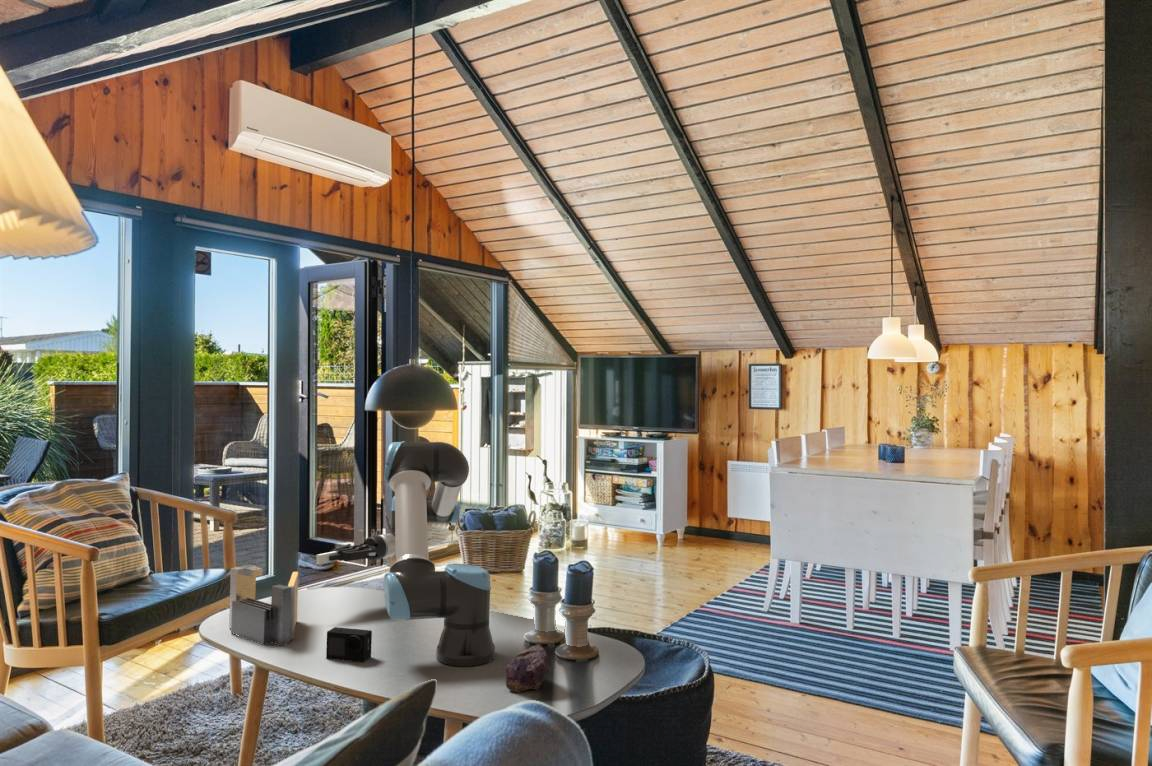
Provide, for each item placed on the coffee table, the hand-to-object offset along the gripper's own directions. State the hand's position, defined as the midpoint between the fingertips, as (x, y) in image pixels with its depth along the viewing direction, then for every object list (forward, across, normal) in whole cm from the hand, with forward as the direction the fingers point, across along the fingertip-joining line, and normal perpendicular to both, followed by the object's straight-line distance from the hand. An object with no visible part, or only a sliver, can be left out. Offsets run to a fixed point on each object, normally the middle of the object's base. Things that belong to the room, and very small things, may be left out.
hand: (318, 559), depth 234 cm
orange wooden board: (+12, -4, -17) cm, 21 cm away
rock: (+3, -83, -17) cm, 84 cm away
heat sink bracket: (+19, -1, -18) cm, 26 cm away
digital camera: (+17, -34, -18) cm, 42 cm away
